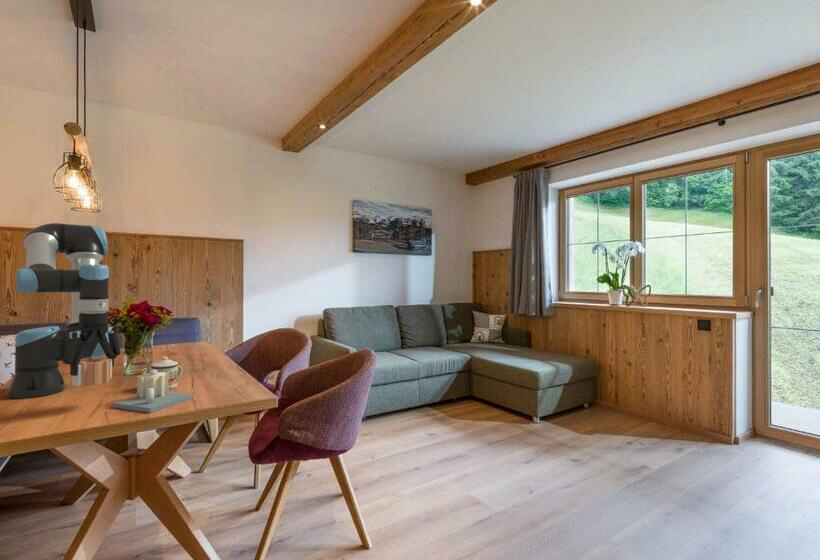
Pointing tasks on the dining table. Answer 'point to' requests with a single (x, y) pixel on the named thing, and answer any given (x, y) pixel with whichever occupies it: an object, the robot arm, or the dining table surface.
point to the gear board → (153, 406)
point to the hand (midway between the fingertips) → (92, 381)
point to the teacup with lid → (168, 370)
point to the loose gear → (95, 371)
